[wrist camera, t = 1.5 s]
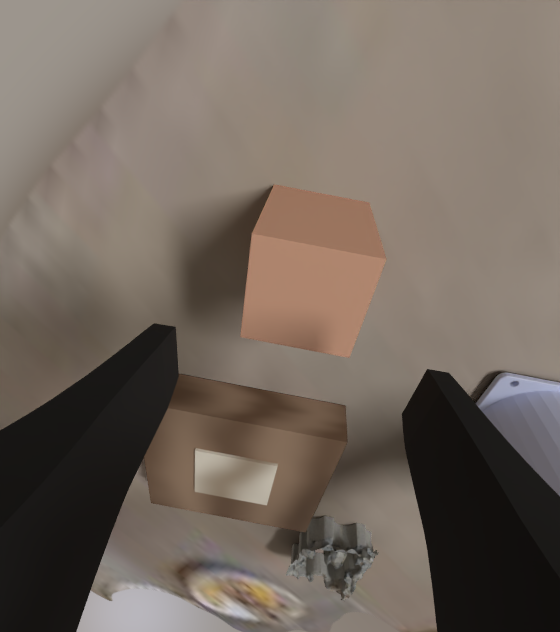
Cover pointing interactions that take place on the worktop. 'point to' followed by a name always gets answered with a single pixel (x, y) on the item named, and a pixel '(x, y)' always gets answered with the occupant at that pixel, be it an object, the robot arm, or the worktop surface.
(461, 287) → the worktop surface
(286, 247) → the terracotta block
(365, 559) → the egg carton
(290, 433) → the walnut base
